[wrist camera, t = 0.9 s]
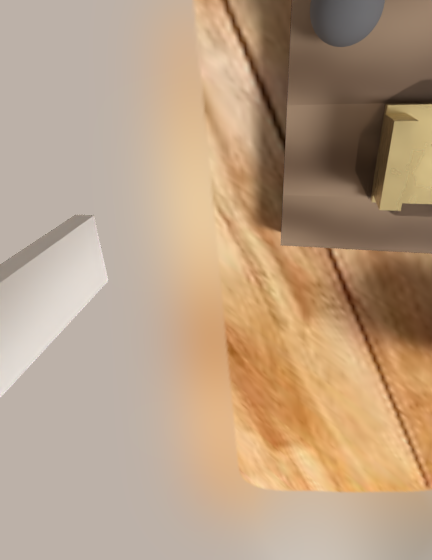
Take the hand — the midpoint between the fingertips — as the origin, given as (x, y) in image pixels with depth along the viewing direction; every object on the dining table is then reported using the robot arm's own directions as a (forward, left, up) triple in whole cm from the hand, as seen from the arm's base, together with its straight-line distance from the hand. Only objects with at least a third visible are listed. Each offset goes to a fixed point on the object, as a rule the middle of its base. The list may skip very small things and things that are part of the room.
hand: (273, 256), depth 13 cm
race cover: (0, +8, -16) cm, 18 cm away
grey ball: (-8, +2, -14) cm, 17 cm away
